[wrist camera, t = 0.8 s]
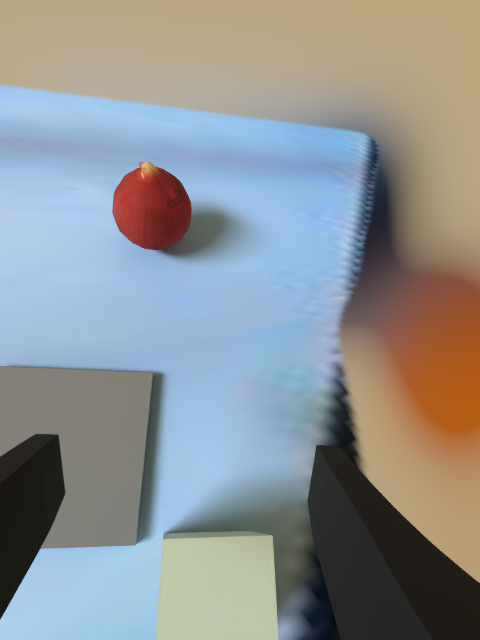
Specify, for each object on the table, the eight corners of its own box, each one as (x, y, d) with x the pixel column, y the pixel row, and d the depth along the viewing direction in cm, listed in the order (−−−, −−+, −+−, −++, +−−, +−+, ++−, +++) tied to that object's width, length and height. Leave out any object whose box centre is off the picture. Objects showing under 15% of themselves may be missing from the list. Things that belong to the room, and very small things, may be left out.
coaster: (136, 544, 20) (135, 545, 20) (-61, 551, 19) (-70, 552, 18) (152, 376, 25) (152, 372, 25) (-4, 370, 24) (-9, 365, 23)
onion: (174, 211, 33) (176, 129, 26) (199, 259, 31) (208, 185, 24) (109, 225, 31) (93, 140, 24) (131, 277, 29) (120, 202, 22)
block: (250, 637, 19) (280, 681, 14) (156, 644, 19) (151, 694, 13) (247, 530, 22) (272, 535, 17) (163, 533, 21) (162, 538, 16)
